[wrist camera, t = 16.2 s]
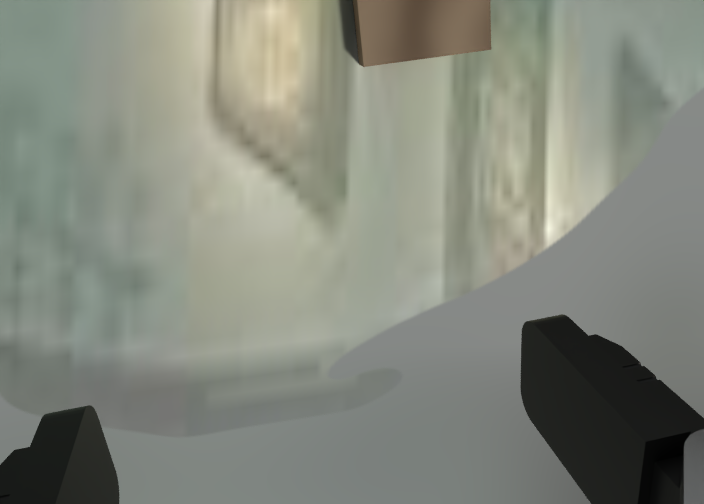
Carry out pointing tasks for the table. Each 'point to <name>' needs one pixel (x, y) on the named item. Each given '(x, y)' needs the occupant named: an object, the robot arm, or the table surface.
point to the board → (419, 29)
